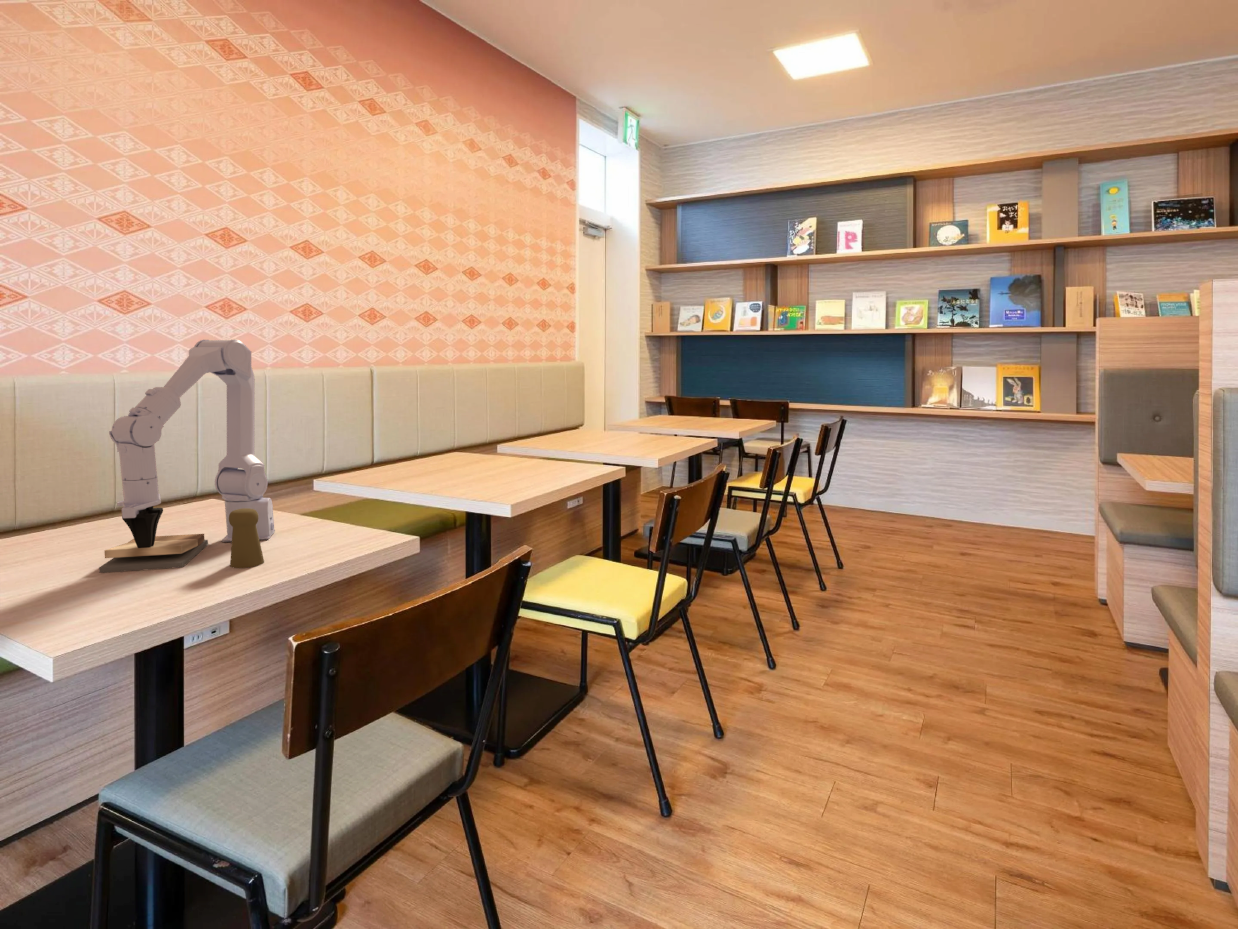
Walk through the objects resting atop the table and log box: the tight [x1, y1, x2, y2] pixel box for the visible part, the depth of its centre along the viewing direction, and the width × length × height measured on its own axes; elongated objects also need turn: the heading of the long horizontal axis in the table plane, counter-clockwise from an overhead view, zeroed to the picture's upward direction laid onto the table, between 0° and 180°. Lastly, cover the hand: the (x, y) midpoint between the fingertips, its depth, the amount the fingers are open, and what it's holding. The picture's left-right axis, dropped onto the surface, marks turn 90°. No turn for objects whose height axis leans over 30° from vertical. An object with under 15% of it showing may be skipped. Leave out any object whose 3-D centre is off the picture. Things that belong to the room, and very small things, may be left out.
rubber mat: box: [98, 539, 209, 573], centre depth 147 cm, size 14×18×1 cm
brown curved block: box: [127, 533, 206, 546], centre depth 153 cm, size 13×4×2 cm, turn 105°
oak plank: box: [103, 539, 198, 559], centre depth 145 cm, size 13×11×2 cm
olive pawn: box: [229, 508, 265, 569], centre depth 142 cm, size 6×6×11 cm
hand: (146, 547), depth 141 cm, fingers closed
